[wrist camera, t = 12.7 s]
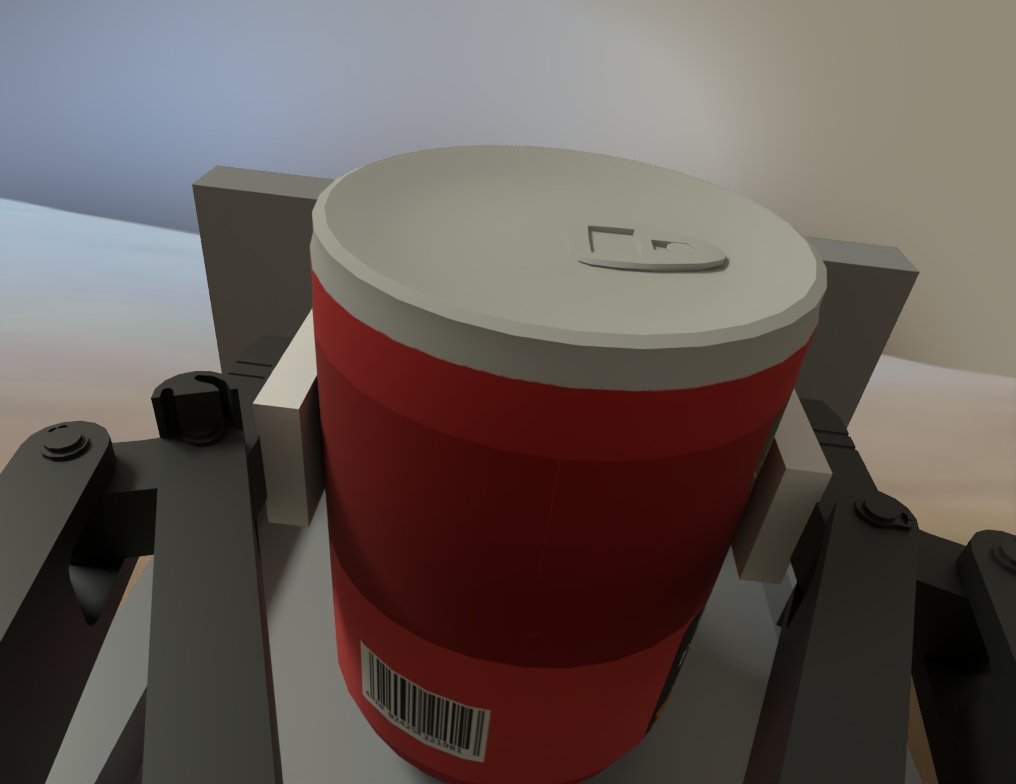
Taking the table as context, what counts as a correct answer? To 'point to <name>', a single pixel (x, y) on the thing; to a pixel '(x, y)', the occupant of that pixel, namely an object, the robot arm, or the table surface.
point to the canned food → (540, 439)
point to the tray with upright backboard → (306, 553)
